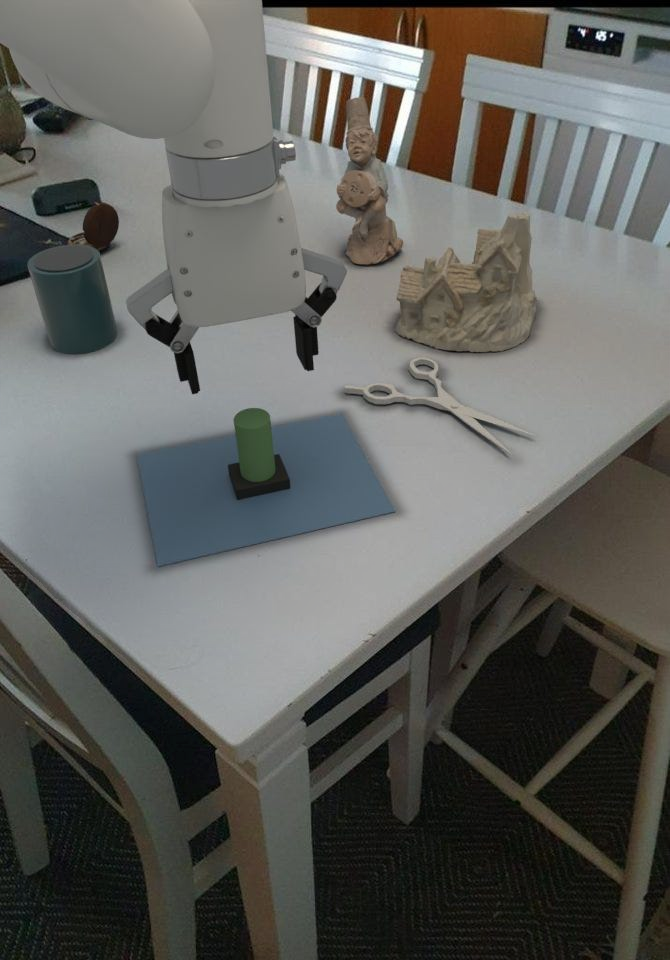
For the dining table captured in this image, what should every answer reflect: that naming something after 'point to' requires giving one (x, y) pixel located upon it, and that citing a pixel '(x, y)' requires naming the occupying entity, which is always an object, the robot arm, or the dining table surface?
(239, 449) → the stamp
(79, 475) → the dining table surface
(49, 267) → the teal cylinder
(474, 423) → the scissors
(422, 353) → the dining table surface
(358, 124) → the figurine
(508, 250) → the ceramic cottage
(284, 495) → the napkin
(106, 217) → the compass
